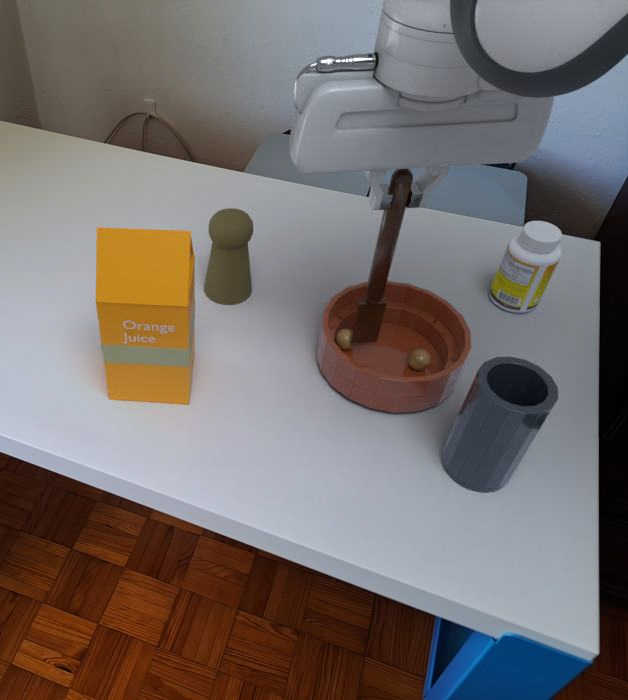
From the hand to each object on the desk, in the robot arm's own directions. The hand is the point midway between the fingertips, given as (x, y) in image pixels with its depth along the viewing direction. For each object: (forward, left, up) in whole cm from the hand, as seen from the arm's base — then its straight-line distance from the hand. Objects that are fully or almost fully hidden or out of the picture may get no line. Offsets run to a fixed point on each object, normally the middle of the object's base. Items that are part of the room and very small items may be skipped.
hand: (396, 205), depth 62 cm
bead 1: (+1, -2, -19) cm, 19 cm away
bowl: (-3, 0, -21) cm, 21 cm away
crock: (-8, +14, -21) cm, 27 cm away
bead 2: (-6, +2, -19) cm, 20 cm away
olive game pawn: (+13, -14, -21) cm, 28 cm away
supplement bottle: (-21, -9, -21) cm, 31 cm away
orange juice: (+23, 0, -21) cm, 31 cm away
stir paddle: (0, -1, -18) cm, 18 cm away
